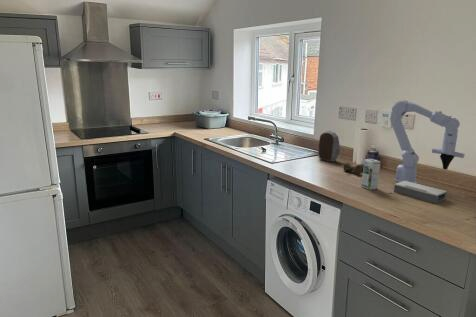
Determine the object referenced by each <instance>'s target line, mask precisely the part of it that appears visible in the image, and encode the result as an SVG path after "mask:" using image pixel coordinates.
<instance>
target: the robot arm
mask: <svg viewBox="0 0 476 317" xmlns="http://www.w3.org/2000/svg"><path fill="white" fill-rule="evenodd" d="M411 112H412V113H413V112H414V113H416V114H419V115H421V116H424V117H426V118H428V119H429V120H430V122H431V123H434V124H436V125H437V126H440V127H442V128H444V130H445V131H444V133H443V139H442V145H441V146H442V147H441V149H439V148H432V149H431V153H432V154H439V158H440V160H441V164H442V170H445V171H446V170H448V168H449V166H450V164H451V162H452V161H453V160H454V158H455V157H456V158H461V159H464V158H465V153H462V152H458V151H456V146H457V142H458V140H457V139H458V132H459V127H460V126H461V125H460V124H461V123H460V121H459V119H457V118H456V117H452V115H447V114H445V113H443V111H442V110H440V111H438V110H436V111H431V110H429V109H428V108H425V107H423V106H421V105H419V104H416V103H415V102H411V101H407V100H406V99H405V100H398V101H396V102H395V103H394V104H393V106H392V107H391V113H390V117H389V121H390V124H391V126H392V128H393V131H394V134H395V136H396V140H397V141H398V144H399V147H400V149H401V156H402V164H398V165H397V167H396V171H395V179H394V182H396V183H399V182H402V181H408V182H413V183H417V184H419V181H416V178H417V173H418V172H417V171H418V165H417V164H418V162H419V159H420V158H419V157H420V156H419V155H418V154H417V153H416V152H415V149H414V148H413V147H412V145H411V142H410V139H409V137H408V134H407V132H406V129H405V126H404V124H403V121H402V119H403V117H404V115H405V114H406V113H411Z"/></svg>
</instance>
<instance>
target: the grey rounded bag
mask: <svg viewBox="0 0 476 317" xmlns="http://www.w3.org/2000/svg"><path fill="white" fill-rule="evenodd" d="M340 150H341V148H340V140H339V136H338V135H337V133H336V132H334V131H331V130H326V131H324V132H323V133H321V134H320V136H319V139H318V149H317V152H318V158H319V159H320V160H323V161H325V160H326V162H336V161H337V159H338V157H339V156H340V153H341V151H340Z"/></svg>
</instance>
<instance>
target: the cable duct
mask: <svg viewBox="0 0 476 317" xmlns="http://www.w3.org/2000/svg"><path fill="white" fill-rule="evenodd" d="M393 193H397V194H401V195H404V196H407V197H410V198H413V199H414V198H415V199H418V200H422V201H426V202H429V203H431V204H439V203H441V202H443V201H445V200H446V197H447V192H446V193H443V194H441V195H439V196H435V195H431V194H427V193H424V192H420V191H416V190H412V189H408V188H405V187H401V186H397V185H395V184H394V188H393Z"/></svg>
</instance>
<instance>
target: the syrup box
mask: <svg viewBox="0 0 476 317" xmlns="http://www.w3.org/2000/svg"><path fill="white" fill-rule="evenodd" d="M363 164H364V168H363V171H362V178H361V183H360V184H361V186H360V187H361V188H364V189H367V190H369V191H370V190H376V189H378V183H379V176H380V169H381V160H376V159H373V158H366V159H364V161H363Z"/></svg>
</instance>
